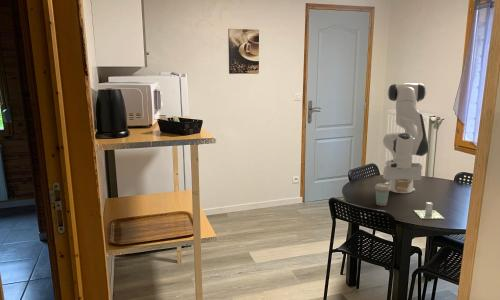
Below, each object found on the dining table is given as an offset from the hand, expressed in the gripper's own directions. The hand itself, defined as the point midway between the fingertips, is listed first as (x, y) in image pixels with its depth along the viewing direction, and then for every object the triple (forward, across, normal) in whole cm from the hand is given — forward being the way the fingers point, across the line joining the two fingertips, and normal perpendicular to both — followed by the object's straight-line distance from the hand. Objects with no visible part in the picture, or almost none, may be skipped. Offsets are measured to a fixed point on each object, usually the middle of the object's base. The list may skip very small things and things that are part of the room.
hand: (401, 186), depth 212 cm
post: (+14, -14, +6) cm, 21 cm away
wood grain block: (+2, 0, 0) cm, 2 cm away
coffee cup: (+15, +7, -11) cm, 20 cm away
